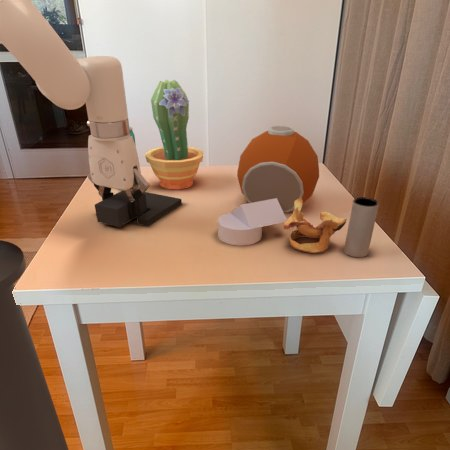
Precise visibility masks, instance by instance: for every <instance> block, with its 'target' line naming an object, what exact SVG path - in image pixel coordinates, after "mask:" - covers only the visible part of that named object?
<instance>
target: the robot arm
mask: <svg viewBox="0 0 450 450" xmlns="http://www.w3.org/2000/svg"><path fill="white" fill-rule="evenodd" d="M0 43H1V45H3V47H5V48H6V49H7V50H8V52H9V53H10V54H11V55H12V56H13V57H14V58H15V60H16V61H17V62H18V63H19V65H21V66H22V68H23V69H24V70H25V71H26V72H27V74H28V75H29V76H30V77H31V78H32V80H33V81H35V84H36V87H37V88H38V90H39V92H40V93H41V94H42V95H43V96H44V97H45V98H46V99H48V100H49V101H50V102H52V103H53V104H54V105H55V106H57V107H58V108H60V109H63V110H69V111H71V110H77V109H79V108H81V107H83V106H84V105H85V107H86V113H87V119H88V120H87V122H86V126H87V127H88V128H89V130H90V135H88V140H87V148H88V149H87V151H88V152H87V155H88V164H89V172H88V174H87V179H88V180H89V181H90V182H91V184H93V187H94V188H95V189H96V190H97V191H98V195H99V196H100V197H101V201H103V200H105V199H107V198H109V197H111V196H113V195H114V194H115V193H114V192H112V190H113V189H114V190H119V191H122V190H125V192H126V194H127V196H128V198H129V202H128V203H127V204H128V211H129V218H130V219H132V220H131V221H133V220H135V219H137V217H139V216H141V215H140V204H139V199H140V198H141V196H142V195H143V194H144V193H145V192H147V190H148V189H149V188H150V183H149V182H148V181H147V179H145V177H144V176H143V175H142V173H141V172H142V171H141V166H140V160H139V155H138V150H137V146H135V145H136V142H135V143H134V140H133V137H132V136H130V129H129V127H130V123H129V114H128V105H127V98H126V97H127V96H126V89H125V81H124V73H123V72H124V71H123V65H122V63H121V61H120V59H118V58H117V57H114V56H107V55H99V56H98V55H95V56H87V57H84V58H76V56H75V55H74V54H73V52H71V50H70V49H69V47H68V46H67V45H66V44H65V42H64V40H63V39H62V38H61V37H60V36H59V34H58V33H57V32H56V30H55V29H54V27H53V26H52V25H51V24H50V23H49V22H48V20H47V18H45V16H44V15H43V14H42V13H41V12H40V11H39V9H38V8H37V7H36V6H35V4H34V2H32V0H0ZM138 184H139V186H138V187H137V185H138ZM131 189H132V190H133V192H134V194H133V193H132V191H131Z"/></svg>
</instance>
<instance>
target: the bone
mask: <svg viewBox="0 0 450 450" xmlns="http://www.w3.org/2000/svg"><path fill="white" fill-rule="evenodd" d="M303 205H304V204H303V200H302V199H301V198H299V199H297V200H296V201H295V202H294V209H295V210H294V211H292V214H291V215H290V217H289V218H288V219H287V221H286V222H283V230H289V229H290V228H296V229H295V230H293V231H292V232H291V233H290V237H289V240H288V243H289V247H290V248H292V249H294V250H296V251H300V252H302V253H309V255H312V254H319V253H320V254H321V253H324V252H326V251H328V249H330V239H331V237H332V236H333V235H335V233H337V231H340V230H342V229H343V227H344V226H345V225H346V223H347V218H339V217H336V216H335V215H334V214H332V213H330V212H328V211H320V212H319V213H318V215H319V219H320V220H321V223H319V224H318V225H317V226H315V227H314V224H311V223H310V222H309V221H307V219H305V218H304V216H305V214H304V213H303V212H302V208H303ZM300 237H307V238H309V239H318V240H319V241H317V242H309V243H307V242H305V243H298V242H297V241H295V240H294V239H295V238H296V239H297V238H300Z"/></svg>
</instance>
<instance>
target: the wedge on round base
mask: <svg viewBox="0 0 450 450" xmlns="http://www.w3.org/2000/svg"><path fill="white" fill-rule="evenodd" d="M287 220H288V219H287V217H286V215H285V212H283V211H282V208H281V206H280V204H279V202H278V200H277V198H275V199H269V200H264V201H259V202H254V203H249V202H248V203H243V204H239V205H238V206H237V207H236V208H234V209H233V210H231V211H230V212H228V213H225V214H222V215H220V216H219V217H218V219H217V237H218V239H219V240H220V241H221V242H223V243H225V244H227V245H232V246H238V247H239V246H240V247H241V246H249V245H250V246H251V245H254V244H256V243H259V241H260V240H261V239H262V232H263V227H267V226H272V225H277V224H281V223H284V222H286V221H287Z"/></svg>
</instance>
